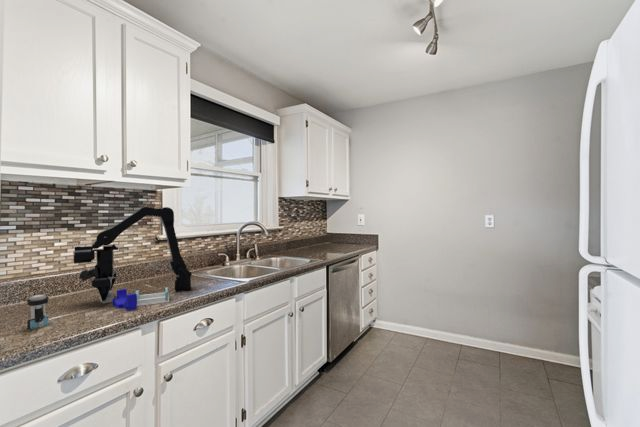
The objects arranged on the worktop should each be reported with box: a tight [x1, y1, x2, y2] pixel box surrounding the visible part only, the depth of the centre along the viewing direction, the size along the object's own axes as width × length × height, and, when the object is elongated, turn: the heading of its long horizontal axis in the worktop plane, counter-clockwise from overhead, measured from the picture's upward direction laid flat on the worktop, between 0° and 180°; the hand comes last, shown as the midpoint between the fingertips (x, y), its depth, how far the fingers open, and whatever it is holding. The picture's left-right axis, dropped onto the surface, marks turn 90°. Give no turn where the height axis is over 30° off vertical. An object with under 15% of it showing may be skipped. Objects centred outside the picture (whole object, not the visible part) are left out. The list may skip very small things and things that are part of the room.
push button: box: [26, 294, 54, 330], centre depth 102 cm, size 7×5×10 cm
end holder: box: [134, 286, 170, 307], centre depth 129 cm, size 13×10×4 cm
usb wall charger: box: [99, 290, 114, 304], centre depth 129 cm, size 4×7×4 cm, turn 45°
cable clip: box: [112, 288, 138, 312], centre depth 121 cm, size 12×4×6 cm, turn 50°
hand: (105, 298), depth 129 cm, fingers closed on usb wall charger, 7 cm apart
